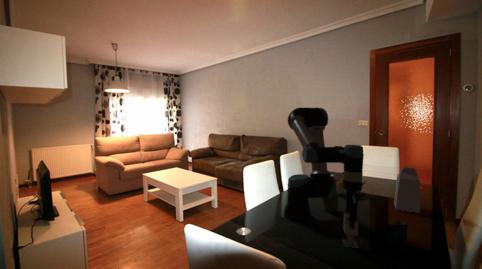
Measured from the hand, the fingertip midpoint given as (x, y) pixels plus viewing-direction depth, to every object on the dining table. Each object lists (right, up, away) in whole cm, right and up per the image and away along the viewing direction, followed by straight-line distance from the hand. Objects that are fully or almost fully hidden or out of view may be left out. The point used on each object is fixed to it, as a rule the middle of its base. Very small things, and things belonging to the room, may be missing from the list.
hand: (350, 231), depth 104 cm
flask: (+23, -6, +3) cm, 24 cm away
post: (0, -6, +1) cm, 6 cm away
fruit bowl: (+29, -1, +72) cm, 77 cm away
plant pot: (+6, -3, +38) cm, 38 cm away
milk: (+54, -3, +42) cm, 69 cm away
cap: (0, 0, 0) cm, 0 cm away
